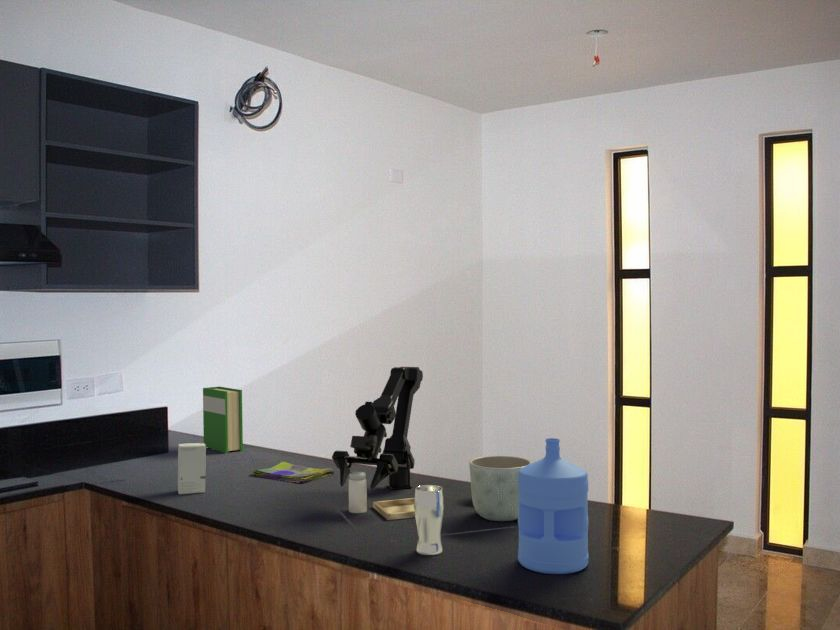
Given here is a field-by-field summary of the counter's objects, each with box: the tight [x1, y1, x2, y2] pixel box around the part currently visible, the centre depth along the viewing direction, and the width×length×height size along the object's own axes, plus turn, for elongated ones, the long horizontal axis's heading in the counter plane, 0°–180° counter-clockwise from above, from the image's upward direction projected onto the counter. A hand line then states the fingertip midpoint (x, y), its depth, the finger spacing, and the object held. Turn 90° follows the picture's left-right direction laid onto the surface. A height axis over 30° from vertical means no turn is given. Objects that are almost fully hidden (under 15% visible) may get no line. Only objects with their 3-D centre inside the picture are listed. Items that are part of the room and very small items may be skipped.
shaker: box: [348, 471, 368, 514], centre depth 224 cm, size 5×5×11 cm
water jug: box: [517, 437, 590, 575], centre depth 180 cm, size 16×16×28 cm
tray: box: [372, 497, 415, 521], centre depth 223 cm, size 14×14×2 cm
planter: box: [468, 455, 533, 522], centre depth 218 cm, size 17×17×15 cm
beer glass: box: [414, 484, 445, 556], centre depth 190 cm, size 7×7×15 cm
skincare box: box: [177, 442, 207, 495], centre depth 250 cm, size 8×6×15 cm
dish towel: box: [250, 461, 335, 484], centre depth 272 cm, size 18×24×3 cm
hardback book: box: [202, 386, 244, 454], centre depth 318 cm, size 18×7×24 cm, turn 43°
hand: (356, 486), depth 223 cm, fingers open, 9 cm apart
